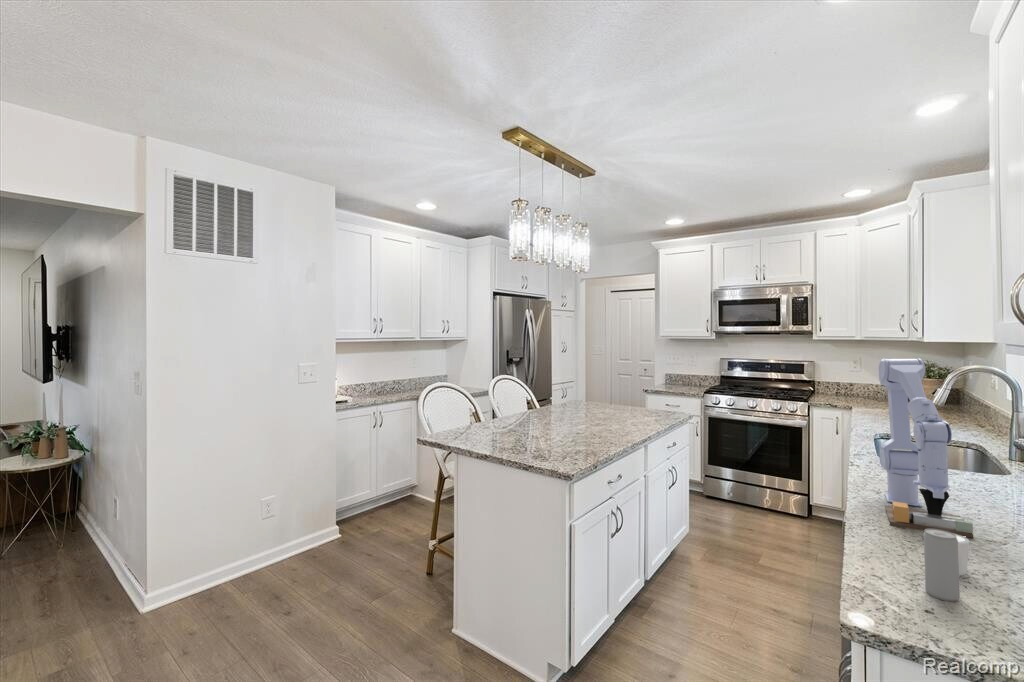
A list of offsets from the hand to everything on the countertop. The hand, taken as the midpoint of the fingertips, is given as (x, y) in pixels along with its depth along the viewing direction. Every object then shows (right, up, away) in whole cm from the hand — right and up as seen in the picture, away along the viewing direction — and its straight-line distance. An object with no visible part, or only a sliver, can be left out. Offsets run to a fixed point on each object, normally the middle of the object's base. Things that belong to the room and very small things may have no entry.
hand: (934, 518), depth 121 cm
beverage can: (-29, -2, -33) cm, 44 cm away
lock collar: (-7, -1, +2) cm, 8 cm away
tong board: (0, -2, +3) cm, 4 cm away
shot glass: (-18, -2, -23) cm, 29 cm away
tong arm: (0, -1, -1) cm, 1 cm away
